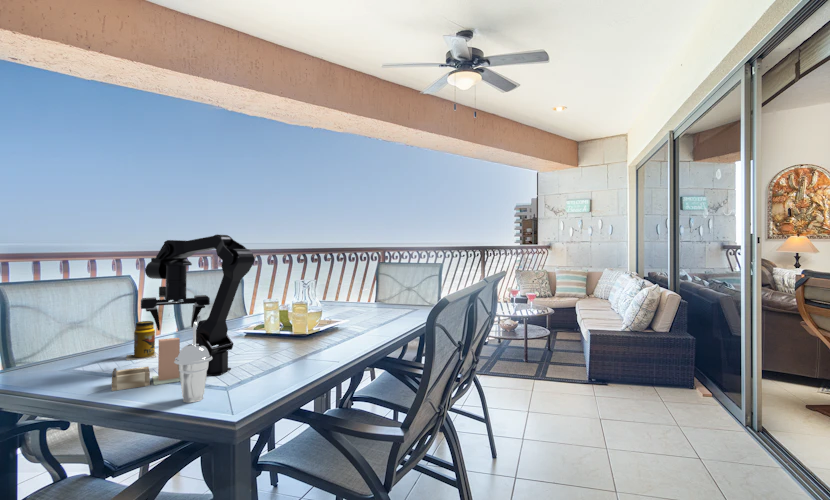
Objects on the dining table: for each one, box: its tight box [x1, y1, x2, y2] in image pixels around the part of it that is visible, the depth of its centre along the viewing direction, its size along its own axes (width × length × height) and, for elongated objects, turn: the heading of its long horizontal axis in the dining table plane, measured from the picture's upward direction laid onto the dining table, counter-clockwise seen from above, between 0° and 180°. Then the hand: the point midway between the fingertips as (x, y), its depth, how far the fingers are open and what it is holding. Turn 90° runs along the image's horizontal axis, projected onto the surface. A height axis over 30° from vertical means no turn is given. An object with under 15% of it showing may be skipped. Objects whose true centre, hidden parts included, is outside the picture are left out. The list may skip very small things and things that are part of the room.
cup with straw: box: [174, 315, 213, 404], centre depth 105 cm, size 8×9×20 cm
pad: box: [152, 373, 181, 386], centre depth 120 cm, size 8×8×1 cm
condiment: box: [125, 320, 157, 361], centre depth 145 cm, size 7×8×12 cm
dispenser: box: [111, 366, 151, 392], centre depth 115 cm, size 8×7×4 cm
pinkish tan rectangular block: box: [157, 337, 181, 381], centre depth 120 cm, size 5×3×11 cm, turn 125°
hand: (175, 328), depth 133 cm, fingers open, 9 cm apart
